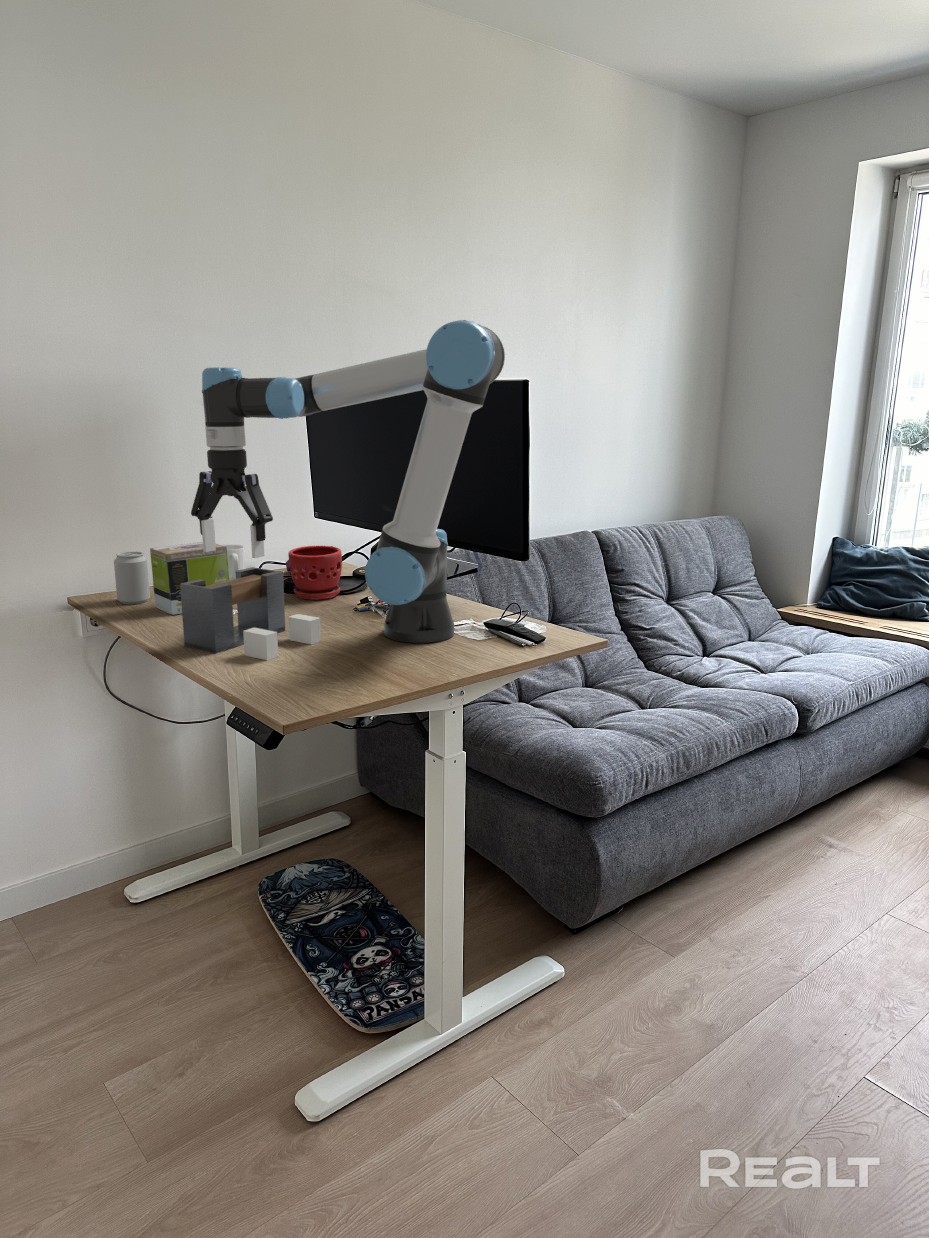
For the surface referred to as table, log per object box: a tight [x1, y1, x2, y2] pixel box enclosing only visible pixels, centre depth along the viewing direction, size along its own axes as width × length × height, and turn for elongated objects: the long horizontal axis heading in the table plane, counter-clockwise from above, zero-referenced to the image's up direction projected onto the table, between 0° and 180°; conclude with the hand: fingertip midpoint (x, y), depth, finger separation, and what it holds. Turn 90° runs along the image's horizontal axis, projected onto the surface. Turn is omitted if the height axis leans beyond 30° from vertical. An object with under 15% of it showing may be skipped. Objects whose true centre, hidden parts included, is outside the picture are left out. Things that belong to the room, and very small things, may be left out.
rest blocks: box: [243, 613, 322, 661], centre depth 176 cm, size 6×16×5 cm, turn 150°
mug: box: [222, 544, 247, 581], centre depth 227 cm, size 12×8×10 cm, turn 26°
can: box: [113, 551, 151, 605], centre depth 211 cm, size 8×8×12 cm
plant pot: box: [287, 545, 343, 601], centre depth 219 cm, size 13×13×12 cm
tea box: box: [149, 541, 229, 616], centre depth 206 cm, size 15×10×15 cm
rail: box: [204, 575, 262, 606], centre depth 180 cm, size 4×16×4 cm, turn 150°
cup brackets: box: [180, 566, 286, 654], centre depth 181 cm, size 9×20×13 cm, turn 150°
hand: (233, 554), depth 178 cm, fingers open, 13 cm apart
